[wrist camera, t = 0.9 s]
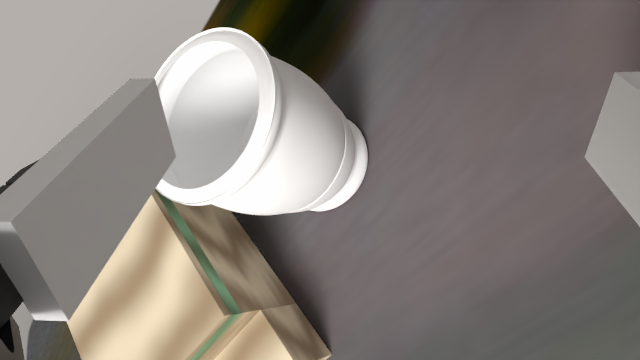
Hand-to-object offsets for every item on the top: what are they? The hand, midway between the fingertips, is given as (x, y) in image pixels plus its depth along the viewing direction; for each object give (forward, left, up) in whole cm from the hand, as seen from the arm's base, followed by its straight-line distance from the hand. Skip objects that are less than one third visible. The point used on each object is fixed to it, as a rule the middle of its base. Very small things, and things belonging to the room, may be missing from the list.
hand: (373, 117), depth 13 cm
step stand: (+25, +4, -21) cm, 33 cm away
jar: (+12, -7, -21) cm, 25 cm away
